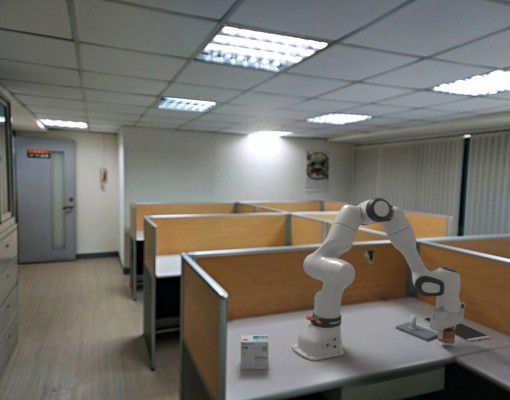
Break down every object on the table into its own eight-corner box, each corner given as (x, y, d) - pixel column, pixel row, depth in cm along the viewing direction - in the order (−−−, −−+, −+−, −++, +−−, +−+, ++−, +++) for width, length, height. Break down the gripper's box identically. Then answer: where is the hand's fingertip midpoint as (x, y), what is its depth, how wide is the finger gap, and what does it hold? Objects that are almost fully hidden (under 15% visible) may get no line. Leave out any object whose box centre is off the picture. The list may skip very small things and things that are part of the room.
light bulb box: (267, 360, 140) (267, 334, 139) (268, 369, 133) (269, 341, 132) (240, 361, 139) (240, 334, 139) (240, 370, 133) (240, 341, 132)
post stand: (426, 341, 158) (427, 325, 158) (395, 328, 172) (396, 314, 171) (439, 336, 164) (439, 320, 163) (408, 324, 177) (408, 310, 177)
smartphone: (468, 343, 158) (468, 340, 158) (422, 320, 184) (422, 317, 183) (490, 340, 162) (490, 336, 162) (443, 318, 188) (443, 314, 187)
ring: (449, 344, 149) (449, 333, 149) (435, 339, 154) (435, 328, 154) (456, 341, 152) (457, 330, 152) (443, 336, 157) (443, 325, 157)
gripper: (441, 311, 145) (439, 344, 145) (467, 303, 155) (465, 334, 156) (426, 306, 150) (425, 338, 150) (453, 299, 161) (451, 329, 161)
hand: (446, 336), depth 153 cm, fingers closed on ring, 6 cm apart
